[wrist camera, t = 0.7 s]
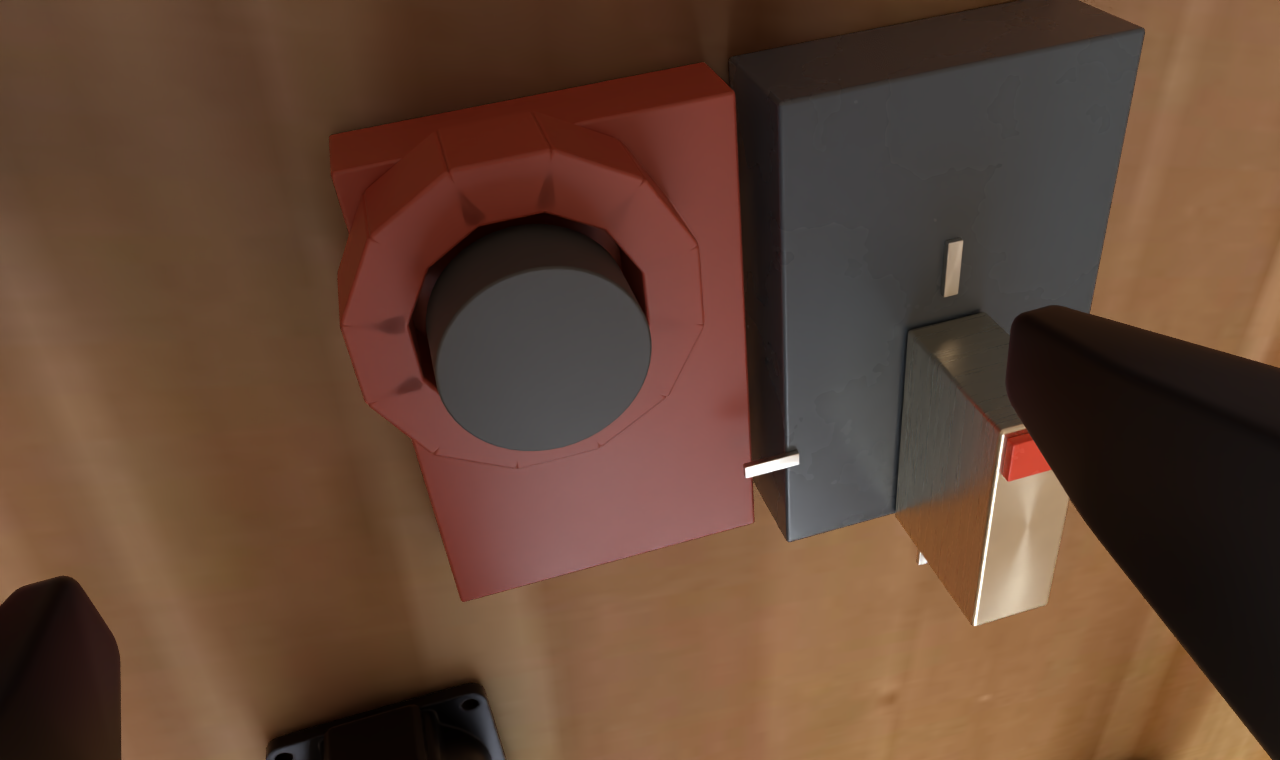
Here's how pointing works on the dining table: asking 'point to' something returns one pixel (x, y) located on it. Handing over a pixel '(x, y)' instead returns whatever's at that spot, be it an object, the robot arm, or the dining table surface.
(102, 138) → the dining table surface
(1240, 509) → the robot arm
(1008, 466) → the tan and red box
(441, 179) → the button box
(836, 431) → the dark grey panel
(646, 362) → the button
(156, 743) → the dining table surface
